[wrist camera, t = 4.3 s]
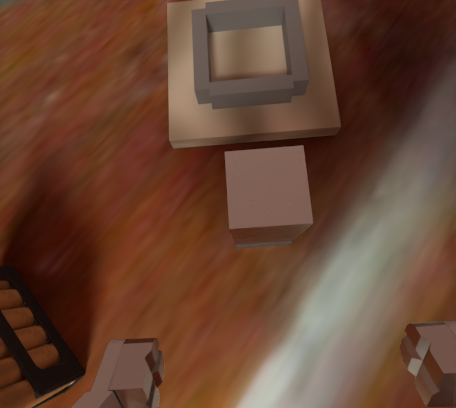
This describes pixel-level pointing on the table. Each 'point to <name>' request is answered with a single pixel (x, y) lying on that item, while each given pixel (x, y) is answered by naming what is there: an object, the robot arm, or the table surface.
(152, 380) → the robot arm
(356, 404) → the table surface
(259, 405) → the table surface
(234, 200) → the grey rectangular block
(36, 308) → the ammunition clip
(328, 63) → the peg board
